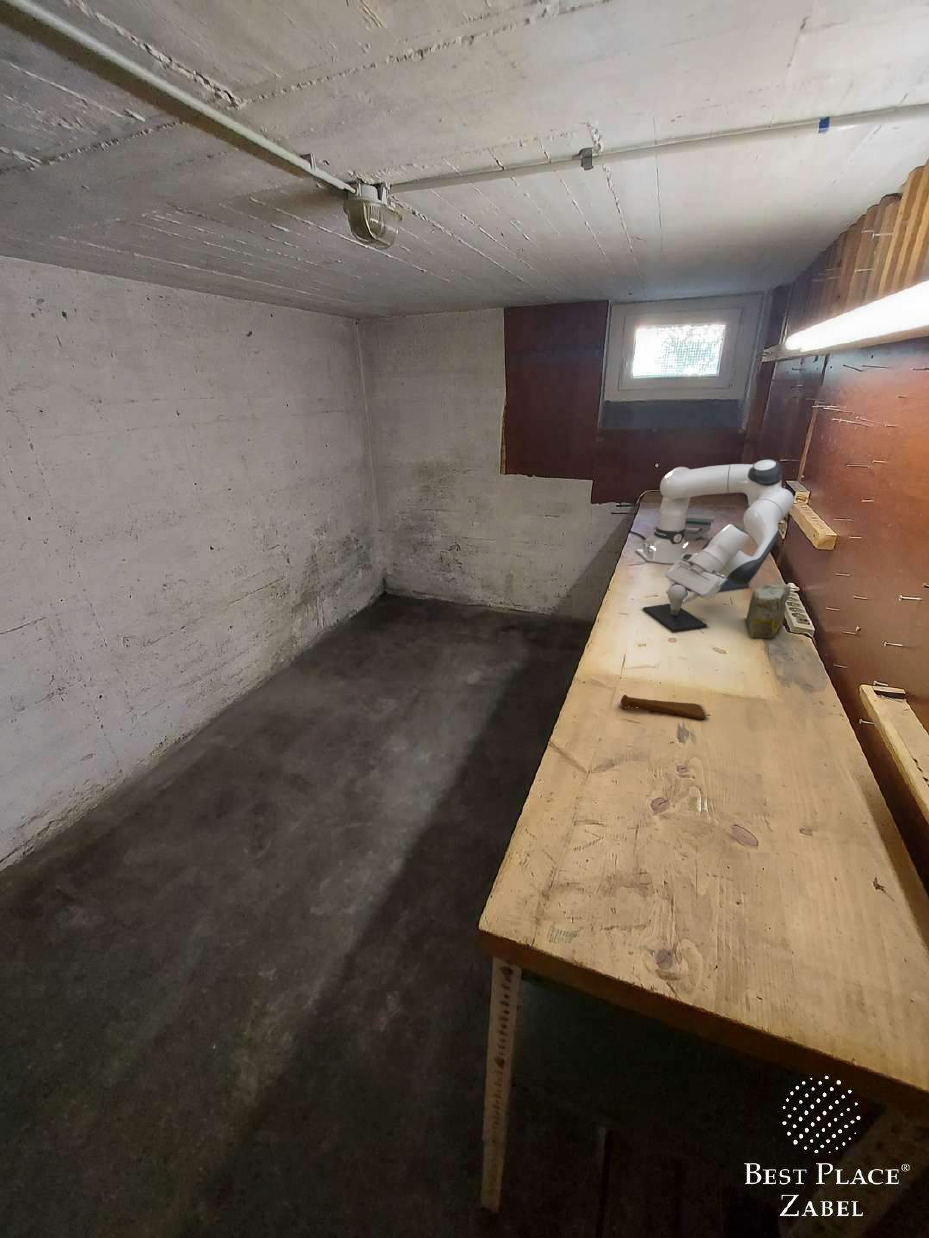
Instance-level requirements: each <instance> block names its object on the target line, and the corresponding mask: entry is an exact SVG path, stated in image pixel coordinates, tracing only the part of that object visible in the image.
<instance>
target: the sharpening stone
mask: <svg viewBox="0 0 929 1238" xmlns="http://www.w3.org/2000/svg"><path fill="white" fill-rule="evenodd" d="M715 519H716V515H710V514H697V513H687V516H686V522H685V536H684V539H685V540H691V541H696V540H697V539H699V538H700V537H702V536H703V535H705V534H706V533H708V532H709V531H710V530H711V526H712V523H713V524H714V523H715ZM687 528H688V529H687Z"/></svg>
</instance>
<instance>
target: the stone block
mask: <svg viewBox="0 0 929 1238" xmlns="http://www.w3.org/2000/svg"><path fill="white" fill-rule="evenodd" d="M790 593H791V586H789V585H785V584H783V585H781V584H772V583H771V584H769V583H764V585H761V586H759V587H757V588H755V589H753V592H752V595H751V598H750V601H749V605H748V610H747V614H746V622H747V625H748V630H749V634H750V637H751V638H752V639H754V638H760V639H761V638H763V639H771V638H773V637H774V636H775V635H776V634H777V633H778V630H779V629H780V627H782V626H783V622H784V620H785V616H786V615H785V613H786V610H787V609H786V606H787V601H788V599H789V597H790V596H789V595H790Z"/></svg>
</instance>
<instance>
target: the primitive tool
mask: <svg viewBox="0 0 929 1238" xmlns="http://www.w3.org/2000/svg"><path fill="white" fill-rule="evenodd" d="M621 705H622V706H623V707H622V706H621ZM620 706H621V708H622V709H627V708H633V709H641V710H646V711H650V712H660V713H666V714H667V713H668V714H672V715H677V716H684V717H688V718H694V719H697V720H704V719H706V714H705V712H704V710H703V708H702V706H701V705H700V704H698V703H693V702H691V703H690V702H675V701H666V700H665V701H664V700H656V699H648V698H647V699H646V698H638V697H633V696H632V697H631V696H628V695H627V694H623V696H622V697H621V698H620ZM628 706H630V707H628ZM625 707H626V708H625ZM636 707H638V708H636Z"/></svg>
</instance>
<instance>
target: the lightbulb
mask: <svg viewBox="0 0 929 1238" xmlns="http://www.w3.org/2000/svg"><path fill="white" fill-rule="evenodd" d="M668 589H669V588H668ZM668 589H667V590H668ZM688 593H689V591H688V590H687V589H686V588H685V587H684V586H682V585H674V586H672V587H671V588H670V589H669V590H668V595H667V598H668V600H669V604H671V614H672V615H673V616H676V615H678V614H679V610H680V608H682V606H683V603H682V602H681V601H680V600H681V599H682V598H683V597H687V596H689V594H688Z"/></svg>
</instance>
